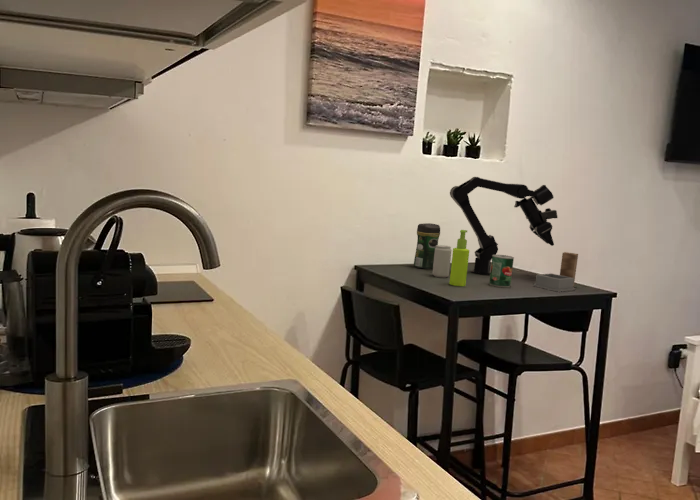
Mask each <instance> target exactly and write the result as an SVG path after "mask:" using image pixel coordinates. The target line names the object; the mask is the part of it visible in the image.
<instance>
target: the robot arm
mask: <svg viewBox="0 0 700 500" xmlns="http://www.w3.org/2000/svg"><path fill="white" fill-rule="evenodd" d="M477 188H483V189H488V190H492V191H496V192H501V193H504V194H506V195H508V196H511V197H514V198H515V199H520V200H515V201H514V202H515V204H514V206H513V207H514V209H515V208H520V209H521V211H522V212H523V214H524V216H525V218H526V220H527V221H528V222H529V226H528V227H529V230H530V232H532V233H533V234H535V236H537V237H538V238H539V239H541V240H542V241H543V242H545V244H549V245H550V246H551V247H552V246H554V245H555V244H554V243H555V242H554V240H553V236H552V233H551V232H552V230H553V225H552V223H551V221H548V220H550V219H551V220H552V219H558V218H559V217H558V211H557V210H556V209H551V208H550V207H548V208H545V209H544V211H542V210H540V209H539V208H538V205H539V206H544V205H545V204H547V203H548V202H550V201H552V200H554V194H553V192H552V191H551V190H550V189H549V188H548V187H547V186H546V184H542V185H540V187H538V188H536V189H535V190H532V189H529V187H528V186H527V185H525V184H523V183H522V184H521V183H504V182H501V181H495V180H490V179H486V178H482V177H479V176H472V177H471V178H470V179H469V180H466V181H465V182H463V183H461V184H460V185H454V186H452V187H451V189H450V190H449V196H450V198H451V199H452V200H453V201H454V203H456V204H457V206H458V207H459V208H460V209H461V210H462V213H463V215H464V216H465V218H466V220H467V221H468V223H469V225H470V226H471V229H472V230H473V232H474V234H475V236H476V238H477V242H478V246H479V247H478V249H476V250H475V251H474V256H475V259H474V266H473V267H474V268H473V270H471V271H470V273H474V274H477V275H483V276H485V275H486V276H487V275H490V272H491V264H492V255H497V254H498V251H499V248H498V246H499V243H497V241H496V239H495V236H493V235H491V234H489V235H488V234H487V232H486V231H485V228H484V227H483V225H482V223H481V221H480V219H479V217H478V216H477V214H476V212H475V211H474V208H473V207H472V205H471V202H470V198H469V194H470V193H472V192H473V191H474V190H475V189H477ZM526 197H528V198H526Z"/></svg>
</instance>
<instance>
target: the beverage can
mask: <svg viewBox="0 0 700 500" xmlns="http://www.w3.org/2000/svg"><path fill="white" fill-rule="evenodd" d="M452 252H453V249H452V246H450V245H445V244H444V245H443V244H438V245H436V248H435V253H434V263H433V269H432V275H433V277H437V278H447V277H450V271H451V262H452Z"/></svg>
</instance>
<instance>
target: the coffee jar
mask: <svg viewBox="0 0 700 500" xmlns="http://www.w3.org/2000/svg"><path fill="white" fill-rule="evenodd" d="M416 235H417V236H416V237H417V243H416V250H415V254H414V259H413V267H415V268H417V269H420V268H421V269H423V270H425V269H426V270H428V269H429V270H430V269H431V270H433V263H434V253H435V248H436V245H439V238H440V237H441V226H440V225H439V224H436V223H426V222H425V223H418V225H417V229H416Z"/></svg>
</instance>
